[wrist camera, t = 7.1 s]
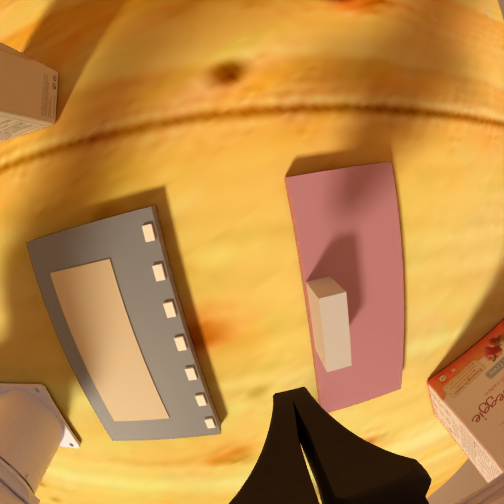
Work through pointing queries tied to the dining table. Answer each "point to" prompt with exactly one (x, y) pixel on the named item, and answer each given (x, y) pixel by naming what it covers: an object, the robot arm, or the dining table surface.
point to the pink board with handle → (351, 279)
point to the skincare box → (25, 94)
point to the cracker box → (475, 402)
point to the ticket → (125, 327)
